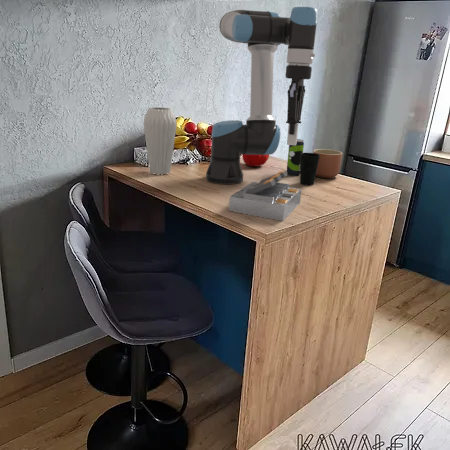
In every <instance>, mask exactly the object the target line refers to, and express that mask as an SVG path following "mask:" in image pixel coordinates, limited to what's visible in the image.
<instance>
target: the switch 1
mask: <svg viewBox="0 0 450 450" xmlns="http://www.w3.org/2000/svg"><path fill="white" fill-rule="evenodd" d="M275 184H276V183H275V180H274V179H270V180H267V181H266V182H264V183H262V184H259V185H257V186H254V187H252V188H249V189H248V190H246V193H251V194H253V193H256V192H258V191H261V190H264V189H266V188H269V187H272V186H274V185H275Z"/></svg>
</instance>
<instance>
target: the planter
mask: <svg viewBox="0 0 450 450" xmlns="http://www.w3.org/2000/svg"><path fill="white" fill-rule="evenodd" d="M312 153H315V154H319V155H320V158H319V163H318V167H317V172H316V178H317V177H318V178H321V179H333V178H336V177H337V176H338V175H339V173H340V172H341V171H340V170H341V165H342V160H343V152H342V151H339V150H335V149H328V148H319V149H318V148H317V149H314V150H313V151H312Z"/></svg>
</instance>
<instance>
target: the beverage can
mask: <svg viewBox="0 0 450 450" xmlns="http://www.w3.org/2000/svg"><path fill="white" fill-rule="evenodd" d="M304 147H305V141H304V140H303V139H300V138H297V144H296V145H288V152H287V153H288V155H287V163H286V172H287V176H296V177H297V176H300V156H301V153H304Z"/></svg>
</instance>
